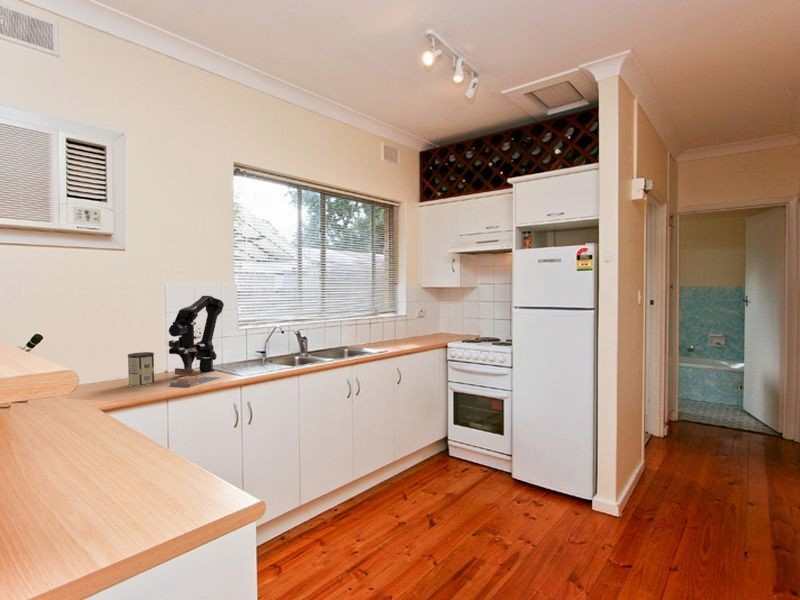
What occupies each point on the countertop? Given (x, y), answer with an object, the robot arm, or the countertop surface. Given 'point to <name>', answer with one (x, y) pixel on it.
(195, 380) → the tile
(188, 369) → the beige ledged slab
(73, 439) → the countertop surface
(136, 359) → the coffee can
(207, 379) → the gray ledged slab
